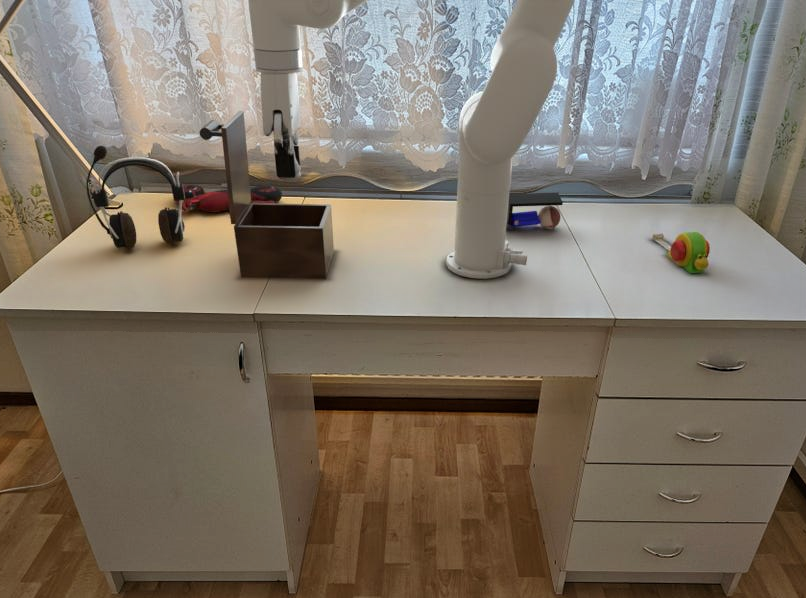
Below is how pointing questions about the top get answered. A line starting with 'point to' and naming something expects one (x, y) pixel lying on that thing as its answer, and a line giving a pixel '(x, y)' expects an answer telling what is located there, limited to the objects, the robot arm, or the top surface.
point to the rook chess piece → (297, 167)
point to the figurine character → (546, 216)
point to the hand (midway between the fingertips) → (288, 171)
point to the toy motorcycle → (225, 197)
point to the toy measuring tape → (687, 250)
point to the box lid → (233, 161)
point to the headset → (122, 222)
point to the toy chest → (285, 240)
